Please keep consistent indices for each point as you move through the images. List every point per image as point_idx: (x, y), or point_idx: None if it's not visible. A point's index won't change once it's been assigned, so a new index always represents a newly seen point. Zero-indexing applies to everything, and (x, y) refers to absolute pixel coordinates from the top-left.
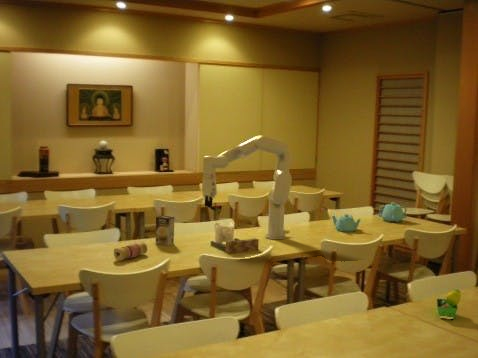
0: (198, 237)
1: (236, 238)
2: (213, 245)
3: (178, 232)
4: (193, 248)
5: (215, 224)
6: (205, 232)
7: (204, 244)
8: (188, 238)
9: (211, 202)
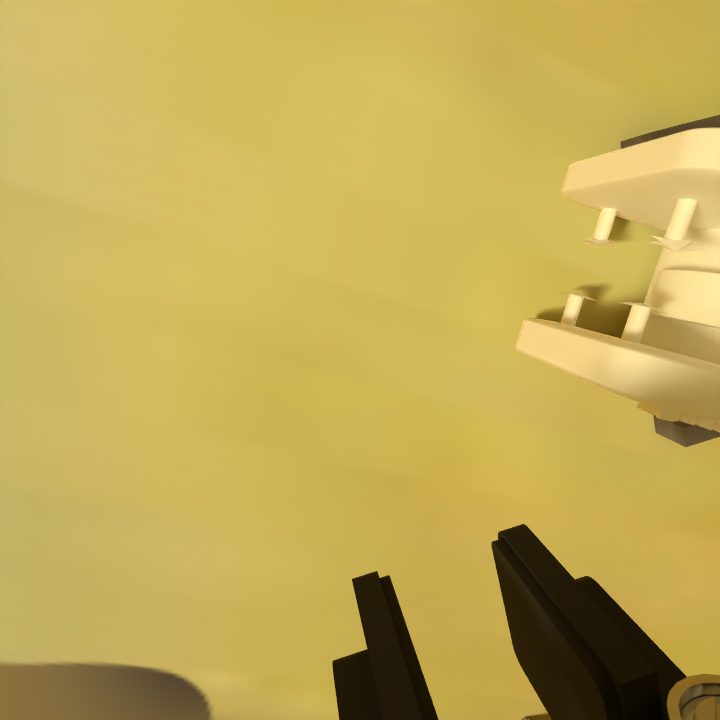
0: (317, 473)
1: (669, 133)
2: None
3: (33, 634)
4: (700, 588)
5: (686, 414)
6: (61, 338)
7: (606, 477)
8: (342, 575)
9: (657, 656)
